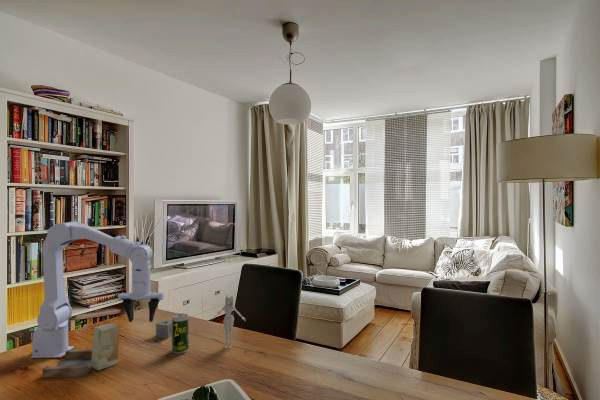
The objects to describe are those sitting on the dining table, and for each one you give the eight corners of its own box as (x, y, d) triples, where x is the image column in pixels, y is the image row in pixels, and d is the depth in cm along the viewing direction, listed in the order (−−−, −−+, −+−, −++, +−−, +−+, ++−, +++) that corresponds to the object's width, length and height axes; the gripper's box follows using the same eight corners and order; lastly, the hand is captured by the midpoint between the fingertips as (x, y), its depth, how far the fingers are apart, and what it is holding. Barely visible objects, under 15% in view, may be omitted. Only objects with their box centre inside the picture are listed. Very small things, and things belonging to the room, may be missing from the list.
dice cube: (155, 337, 137) (155, 323, 136) (163, 332, 141) (163, 319, 141) (167, 338, 135) (167, 325, 135) (175, 333, 140) (175, 320, 140)
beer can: (171, 348, 126) (171, 314, 126) (187, 346, 128) (187, 312, 128) (172, 355, 121) (172, 319, 121) (189, 352, 124) (189, 317, 123)
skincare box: (98, 371, 110) (100, 330, 110) (90, 366, 112) (92, 327, 112) (118, 363, 115) (120, 325, 115) (110, 359, 118) (112, 321, 117)
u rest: (42, 377, 106) (42, 368, 106) (68, 357, 119) (68, 349, 119) (85, 376, 107) (85, 368, 107) (106, 356, 120) (106, 349, 120)
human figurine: (210, 347, 128) (210, 296, 127) (214, 343, 132) (214, 293, 131) (243, 349, 126) (244, 297, 126) (246, 344, 130) (247, 294, 130)
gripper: (114, 284, 119) (114, 325, 119) (159, 283, 120) (159, 324, 120) (122, 279, 126) (122, 318, 126) (165, 278, 127) (165, 317, 128)
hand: (141, 320), depth 124 cm, fingers open, 6 cm apart
